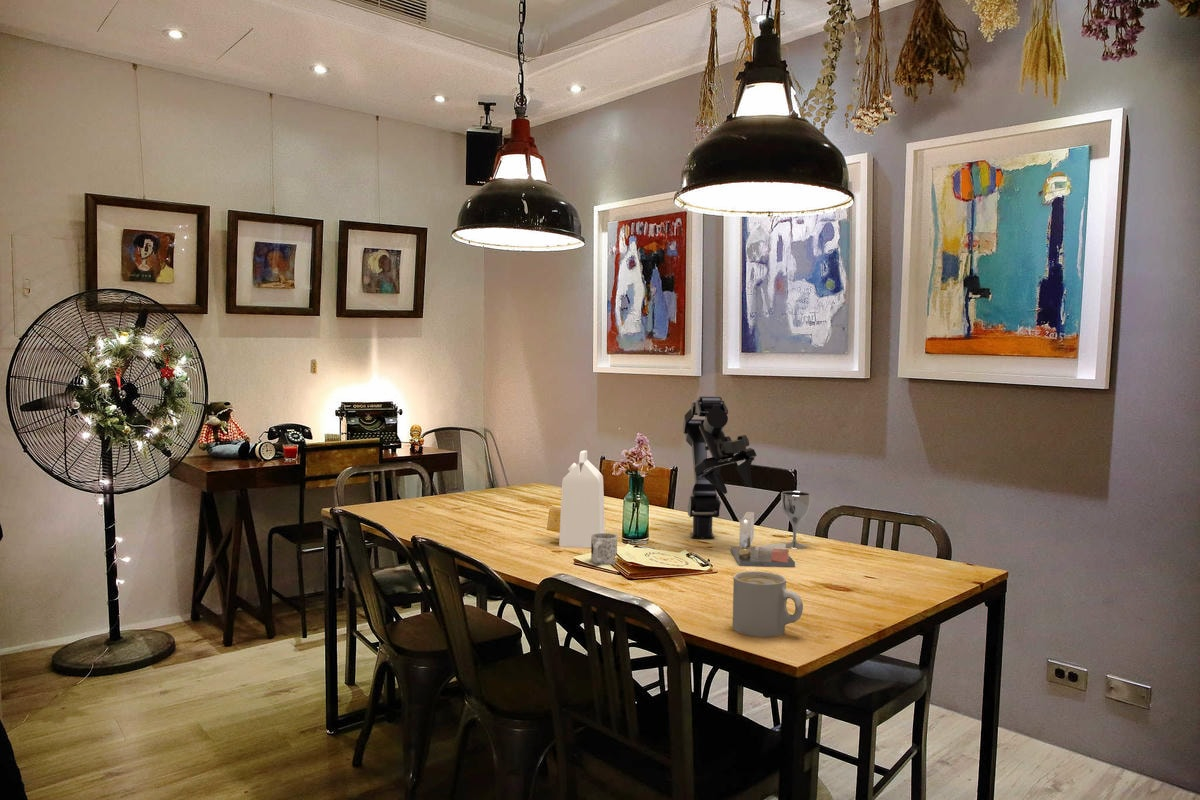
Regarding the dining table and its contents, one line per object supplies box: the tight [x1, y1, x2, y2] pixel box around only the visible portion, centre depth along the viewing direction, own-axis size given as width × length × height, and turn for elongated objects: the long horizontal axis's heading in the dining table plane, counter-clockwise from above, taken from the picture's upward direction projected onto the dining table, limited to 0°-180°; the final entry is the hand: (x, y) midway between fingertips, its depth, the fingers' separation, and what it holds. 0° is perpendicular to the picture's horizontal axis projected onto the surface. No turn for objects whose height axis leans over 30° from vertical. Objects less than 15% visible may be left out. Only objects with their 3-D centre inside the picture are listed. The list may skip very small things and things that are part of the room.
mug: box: [590, 532, 618, 566], centre depth 209 cm, size 10×7×7 cm, turn 159°
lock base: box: [730, 542, 796, 568], centre depth 216 cm, size 17×14×4 cm
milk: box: [558, 450, 606, 549], centre depth 232 cm, size 12×12×26 cm
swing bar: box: [739, 511, 755, 548], centre depth 217 cm, size 13×3×7 cm, turn 163°
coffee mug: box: [732, 570, 804, 638], centre depth 157 cm, size 13×10×10 cm
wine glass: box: [780, 490, 811, 550], centre depth 232 cm, size 8×8×15 cm
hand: (738, 489), depth 224 cm, fingers open, 9 cm apart
